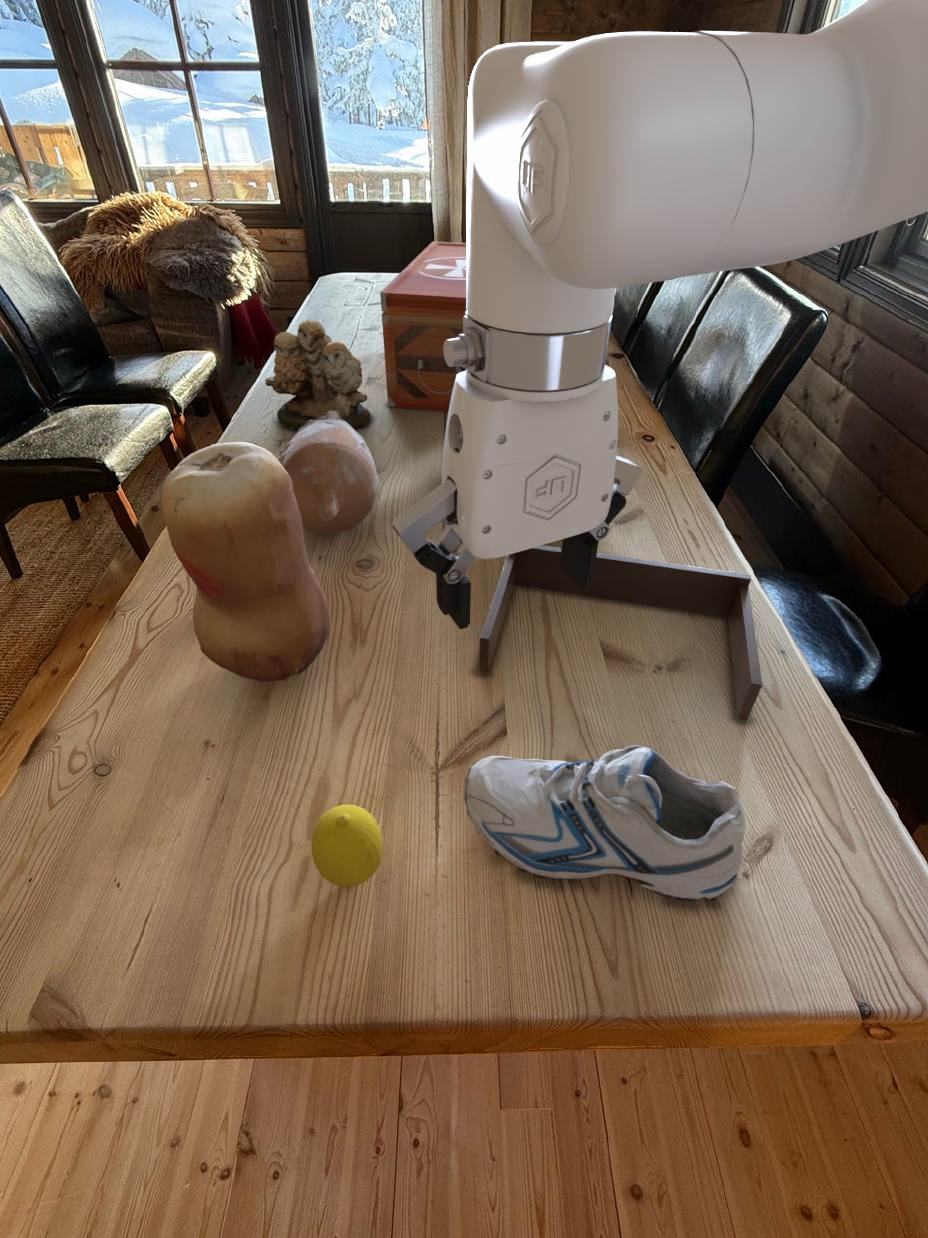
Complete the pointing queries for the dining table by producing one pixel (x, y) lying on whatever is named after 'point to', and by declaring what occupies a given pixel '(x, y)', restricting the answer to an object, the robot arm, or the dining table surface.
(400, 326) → the wooden box
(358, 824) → the lemon
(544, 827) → the athletic shoe
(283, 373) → the owl figurine
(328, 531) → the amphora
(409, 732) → the dining table surface
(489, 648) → the shoe rack
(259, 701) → the dining table surface
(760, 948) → the dining table surface
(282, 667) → the butternut squash
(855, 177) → the robot arm
